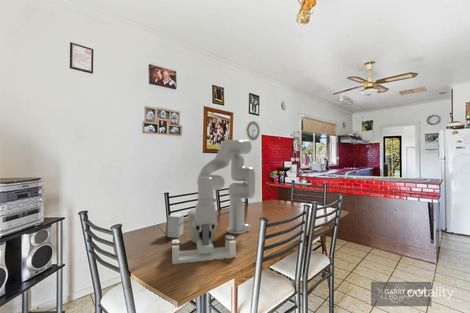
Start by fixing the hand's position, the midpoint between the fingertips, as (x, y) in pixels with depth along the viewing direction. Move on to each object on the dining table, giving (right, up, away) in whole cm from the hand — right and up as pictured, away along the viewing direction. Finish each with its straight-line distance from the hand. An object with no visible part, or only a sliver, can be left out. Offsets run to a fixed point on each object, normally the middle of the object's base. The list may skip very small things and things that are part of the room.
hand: (205, 238), depth 114 cm
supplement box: (-22, -8, +28) cm, 37 cm away
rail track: (-1, -9, 0) cm, 9 cm away
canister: (-4, -9, +20) cm, 22 cm away
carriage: (0, -5, 0) cm, 5 cm away
